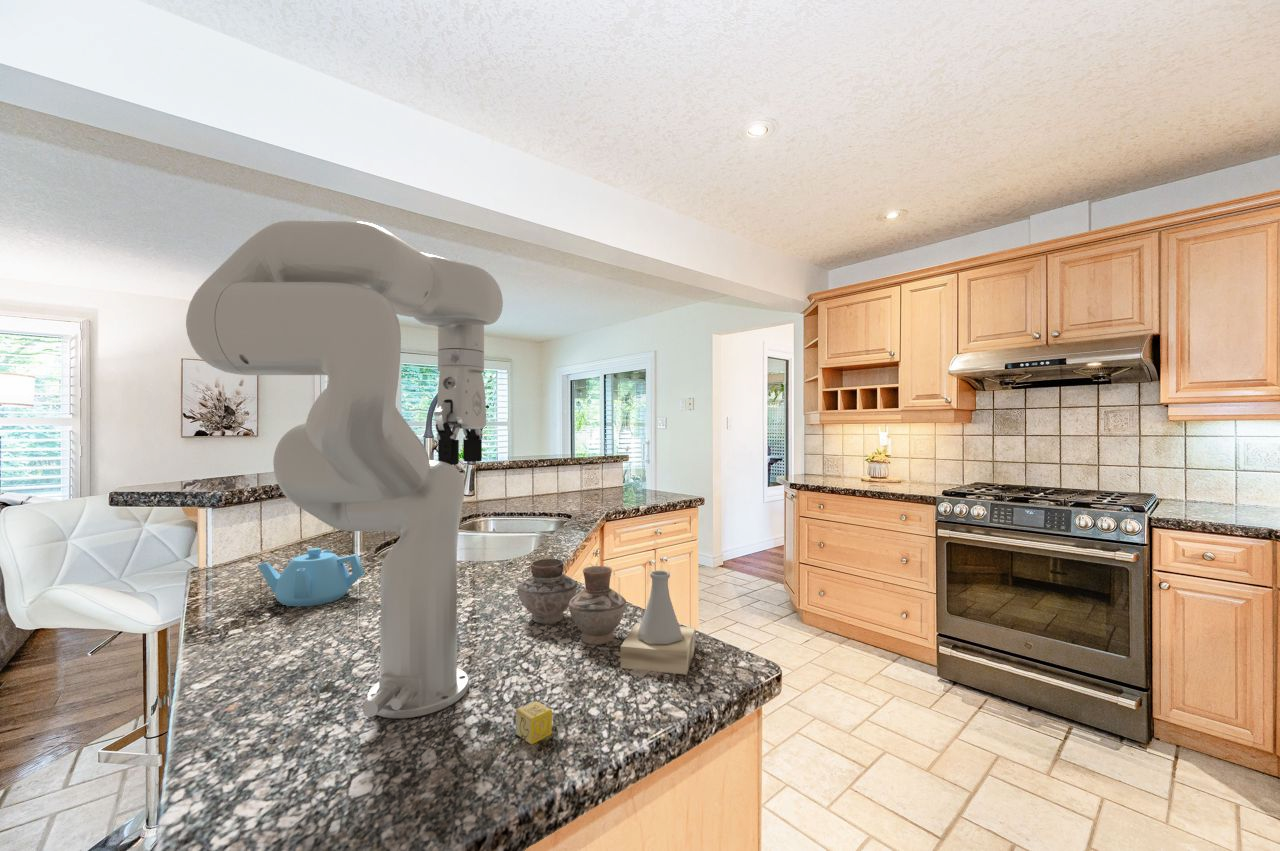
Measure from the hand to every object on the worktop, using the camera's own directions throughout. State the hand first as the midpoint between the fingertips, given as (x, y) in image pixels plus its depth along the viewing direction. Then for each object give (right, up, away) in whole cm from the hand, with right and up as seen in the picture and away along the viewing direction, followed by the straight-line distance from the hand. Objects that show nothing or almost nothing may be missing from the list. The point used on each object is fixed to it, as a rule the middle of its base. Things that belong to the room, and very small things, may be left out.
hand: (461, 462), depth 89 cm
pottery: (+18, -31, +6) cm, 36 cm away
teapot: (-40, -31, +23) cm, 56 cm away
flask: (+34, -27, -7) cm, 44 cm away
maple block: (+34, -31, -7) cm, 46 cm away
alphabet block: (+18, -30, -28) cm, 45 cm away
